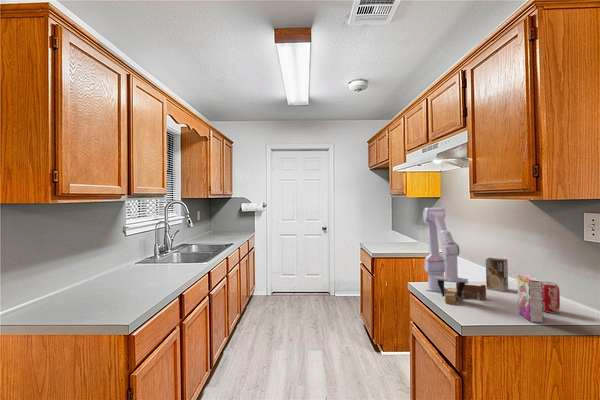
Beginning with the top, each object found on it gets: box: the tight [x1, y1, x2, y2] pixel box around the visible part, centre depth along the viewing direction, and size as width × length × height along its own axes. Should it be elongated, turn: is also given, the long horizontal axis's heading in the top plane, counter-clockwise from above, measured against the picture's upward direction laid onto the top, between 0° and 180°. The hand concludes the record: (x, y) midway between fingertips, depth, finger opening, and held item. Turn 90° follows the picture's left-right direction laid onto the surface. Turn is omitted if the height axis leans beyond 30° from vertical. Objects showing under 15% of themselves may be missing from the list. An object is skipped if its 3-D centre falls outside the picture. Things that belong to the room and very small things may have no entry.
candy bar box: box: [517, 274, 544, 324], centre depth 140 cm, size 11×5×16 cm, turn 168°
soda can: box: [542, 281, 561, 314], centre depth 148 cm, size 7×7×12 cm
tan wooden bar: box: [444, 287, 458, 305], centre depth 167 cm, size 14×4×4 cm, turn 151°
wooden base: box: [455, 282, 487, 301], centre depth 169 cm, size 5×13×6 cm, turn 61°
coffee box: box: [485, 257, 509, 293], centre depth 184 cm, size 9×6×16 cm
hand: (451, 297), depth 167 cm, fingers open, 7 cm apart
